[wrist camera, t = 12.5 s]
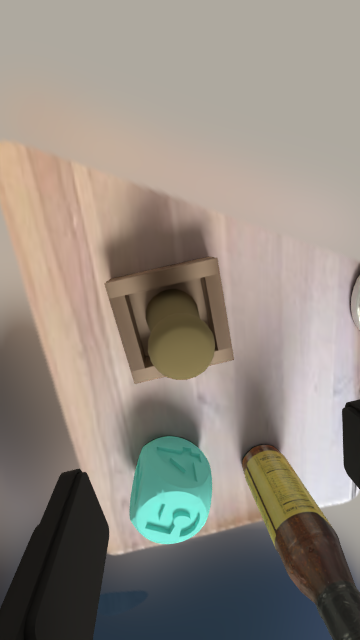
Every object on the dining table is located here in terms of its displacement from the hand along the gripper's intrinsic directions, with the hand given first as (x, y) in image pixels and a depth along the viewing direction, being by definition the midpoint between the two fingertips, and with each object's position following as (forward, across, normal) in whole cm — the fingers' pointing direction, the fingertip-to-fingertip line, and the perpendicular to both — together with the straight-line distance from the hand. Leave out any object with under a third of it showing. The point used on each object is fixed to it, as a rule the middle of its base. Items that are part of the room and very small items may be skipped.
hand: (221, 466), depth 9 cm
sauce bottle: (+22, -8, +24) cm, 33 cm away
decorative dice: (+22, +6, +20) cm, 30 cm away
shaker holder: (+21, 0, 0) cm, 21 cm away
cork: (+21, 0, 0) cm, 21 cm away
